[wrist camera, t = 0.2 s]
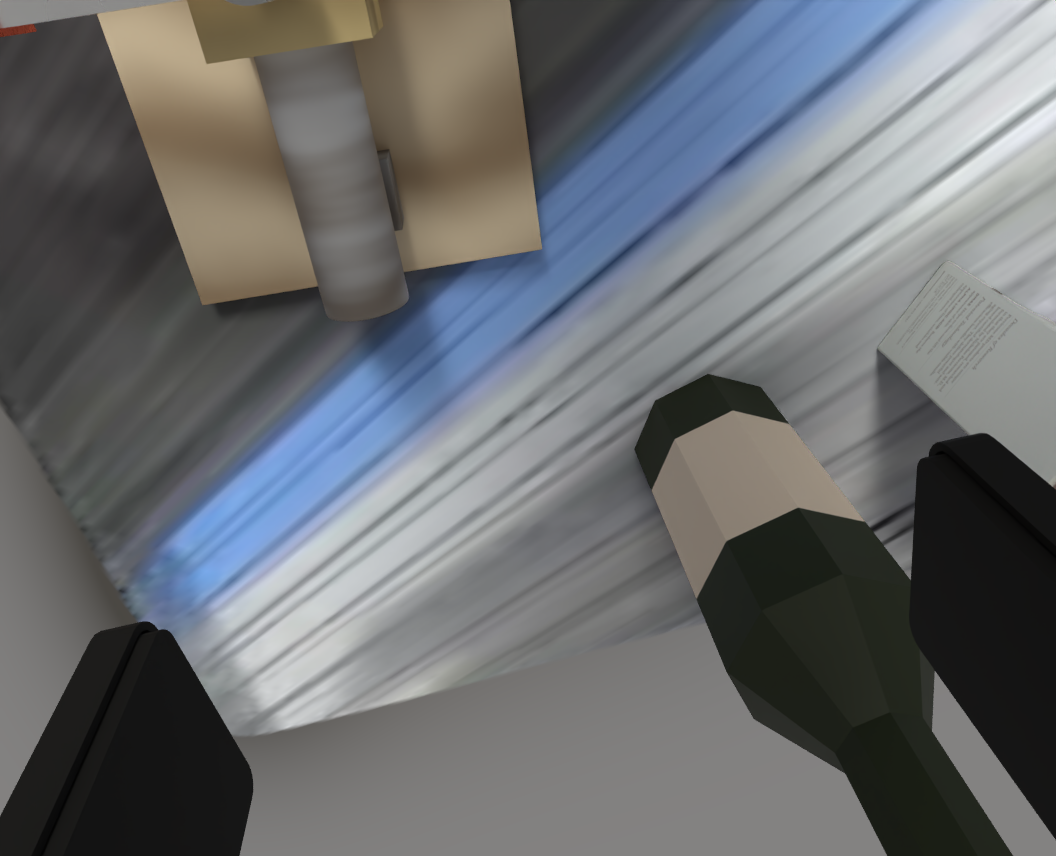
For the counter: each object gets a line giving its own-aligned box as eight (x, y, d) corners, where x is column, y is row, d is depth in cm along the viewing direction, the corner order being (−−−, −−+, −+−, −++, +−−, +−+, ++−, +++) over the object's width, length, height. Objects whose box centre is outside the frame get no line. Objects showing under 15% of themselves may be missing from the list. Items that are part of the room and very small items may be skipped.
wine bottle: (636, 509, 48) (876, 1154, 22) (632, 383, 43) (924, 998, 18) (774, 490, 48) (1173, 1104, 22) (783, 364, 44) (1289, 938, 18)
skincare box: (1049, 318, 44) (1301, 462, 31) (973, 407, 46) (1180, 575, 34) (937, 253, 42) (1162, 381, 29) (863, 351, 44) (1041, 509, 31)
